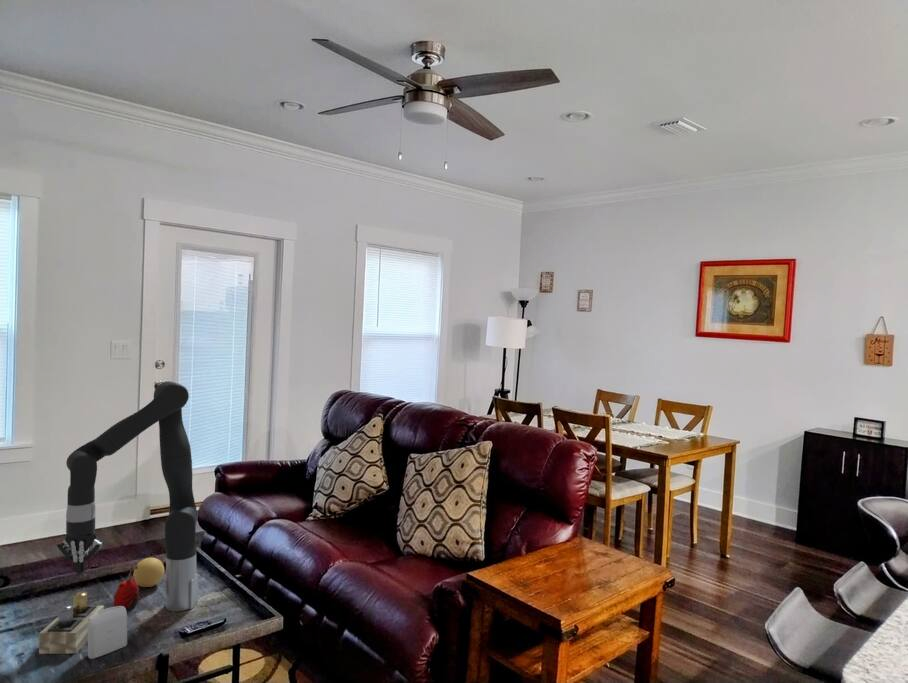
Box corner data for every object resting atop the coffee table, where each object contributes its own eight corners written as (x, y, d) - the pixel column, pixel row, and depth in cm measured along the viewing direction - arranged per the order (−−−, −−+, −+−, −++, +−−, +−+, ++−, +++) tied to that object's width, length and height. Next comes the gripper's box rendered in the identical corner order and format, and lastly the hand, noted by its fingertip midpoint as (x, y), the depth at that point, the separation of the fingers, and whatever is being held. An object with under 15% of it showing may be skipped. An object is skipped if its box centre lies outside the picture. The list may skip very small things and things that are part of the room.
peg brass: (89, 610, 186) (89, 591, 185) (83, 616, 182) (83, 597, 182) (77, 610, 185) (77, 591, 185) (70, 616, 182) (70, 597, 181)
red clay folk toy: (130, 599, 204) (131, 556, 204) (144, 604, 201) (144, 561, 200) (109, 609, 198) (109, 564, 197) (122, 614, 194) (122, 569, 194)
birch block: (103, 624, 188) (103, 603, 188) (75, 653, 172) (75, 631, 172) (70, 624, 188) (70, 603, 187) (39, 653, 172) (39, 631, 171)
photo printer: (90, 661, 169) (90, 618, 168) (85, 655, 172) (85, 613, 171) (129, 646, 177) (129, 605, 176) (123, 640, 180) (123, 600, 179)
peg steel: (75, 623, 178) (75, 604, 177) (68, 630, 174) (68, 610, 174) (62, 623, 177) (62, 604, 177) (55, 630, 174) (55, 610, 173)
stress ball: (163, 591, 213) (173, 564, 220) (149, 578, 207) (160, 551, 214) (138, 593, 214) (148, 566, 222) (122, 580, 208) (134, 553, 215)
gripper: (109, 513, 186) (109, 567, 187) (65, 512, 185) (64, 567, 186) (97, 521, 179) (96, 578, 180) (50, 520, 178) (50, 578, 179)
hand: (80, 572), depth 183 cm, fingers closed
